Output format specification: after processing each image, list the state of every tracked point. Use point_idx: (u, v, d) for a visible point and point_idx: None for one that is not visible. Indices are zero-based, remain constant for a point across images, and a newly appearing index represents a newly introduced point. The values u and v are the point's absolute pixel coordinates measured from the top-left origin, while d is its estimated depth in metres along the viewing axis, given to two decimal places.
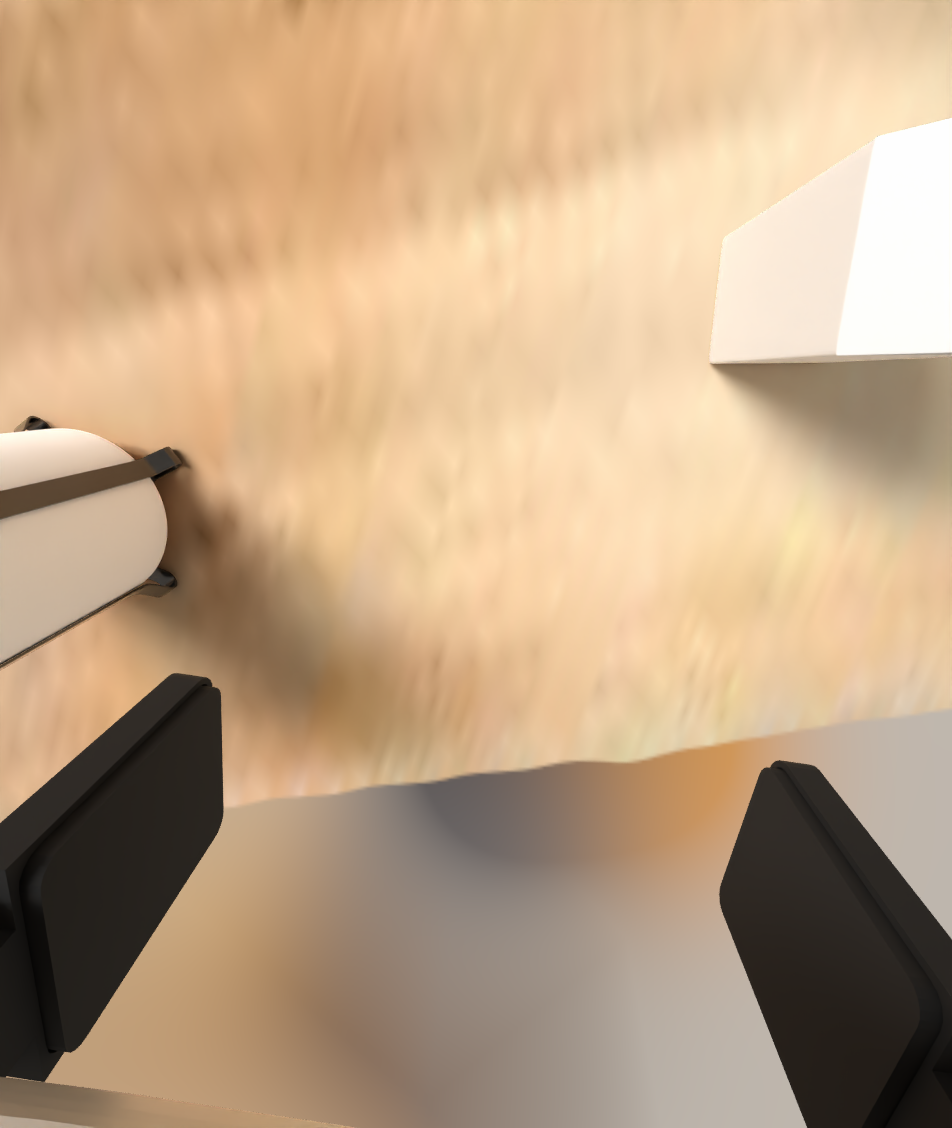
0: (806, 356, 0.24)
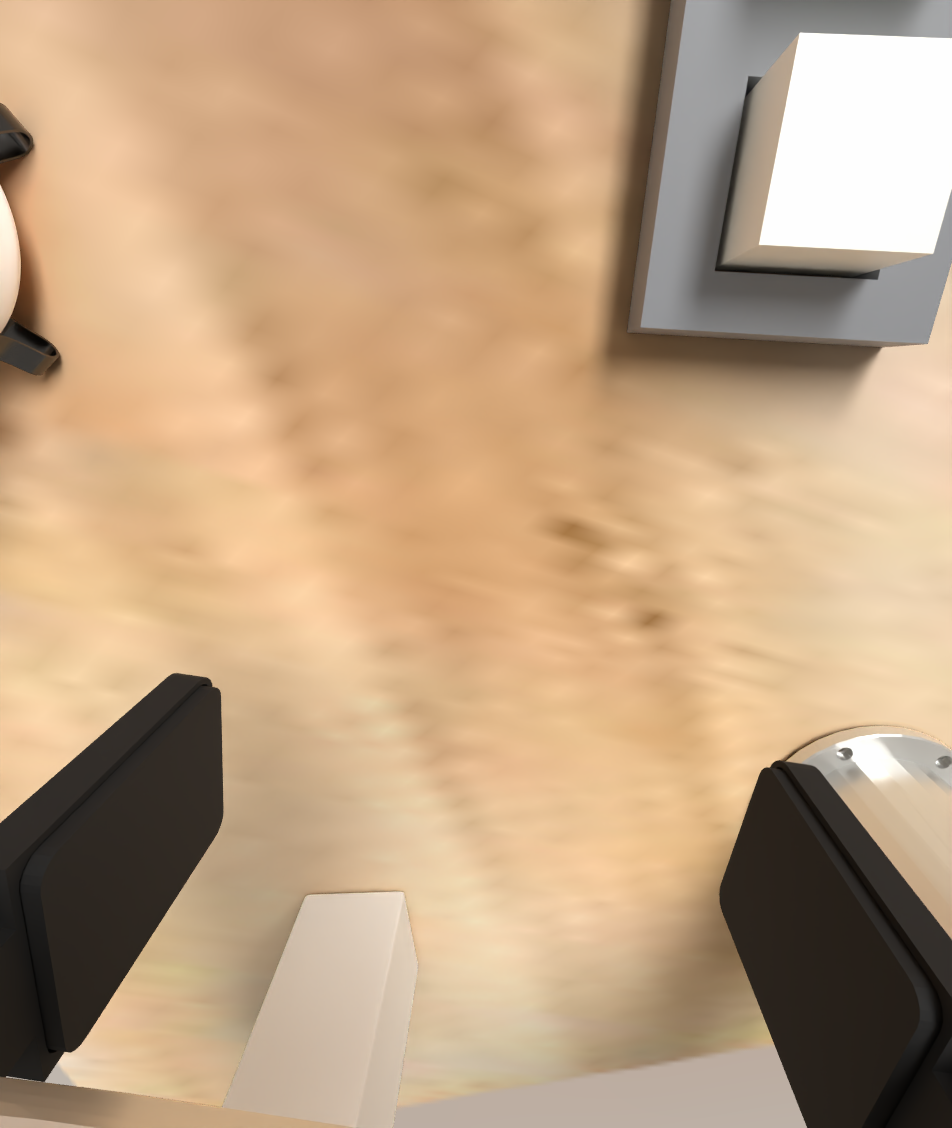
0: None
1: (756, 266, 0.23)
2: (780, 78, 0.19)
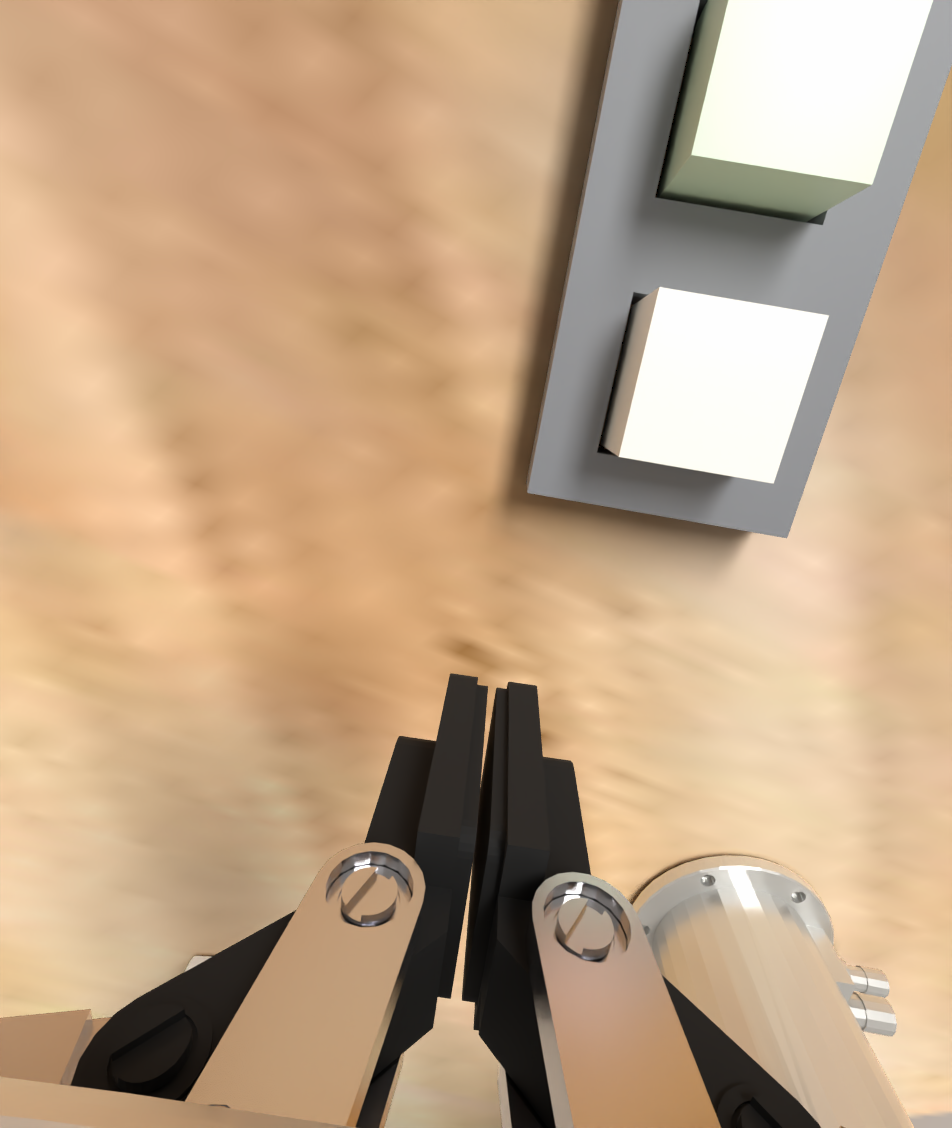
0: None
1: None
2: (647, 314, 0.21)
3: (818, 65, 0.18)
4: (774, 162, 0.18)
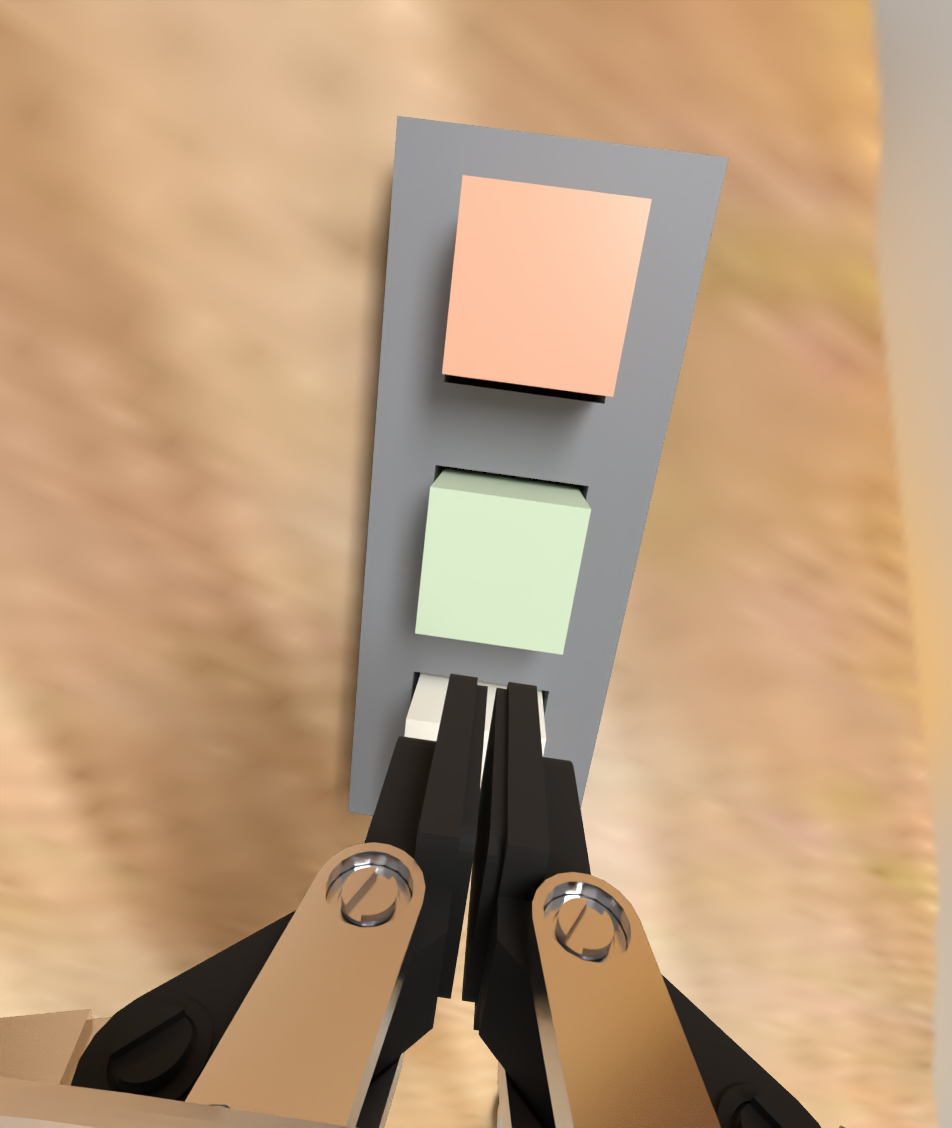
0: None
1: None
2: None
3: (504, 578, 0.22)
4: (482, 639, 0.23)
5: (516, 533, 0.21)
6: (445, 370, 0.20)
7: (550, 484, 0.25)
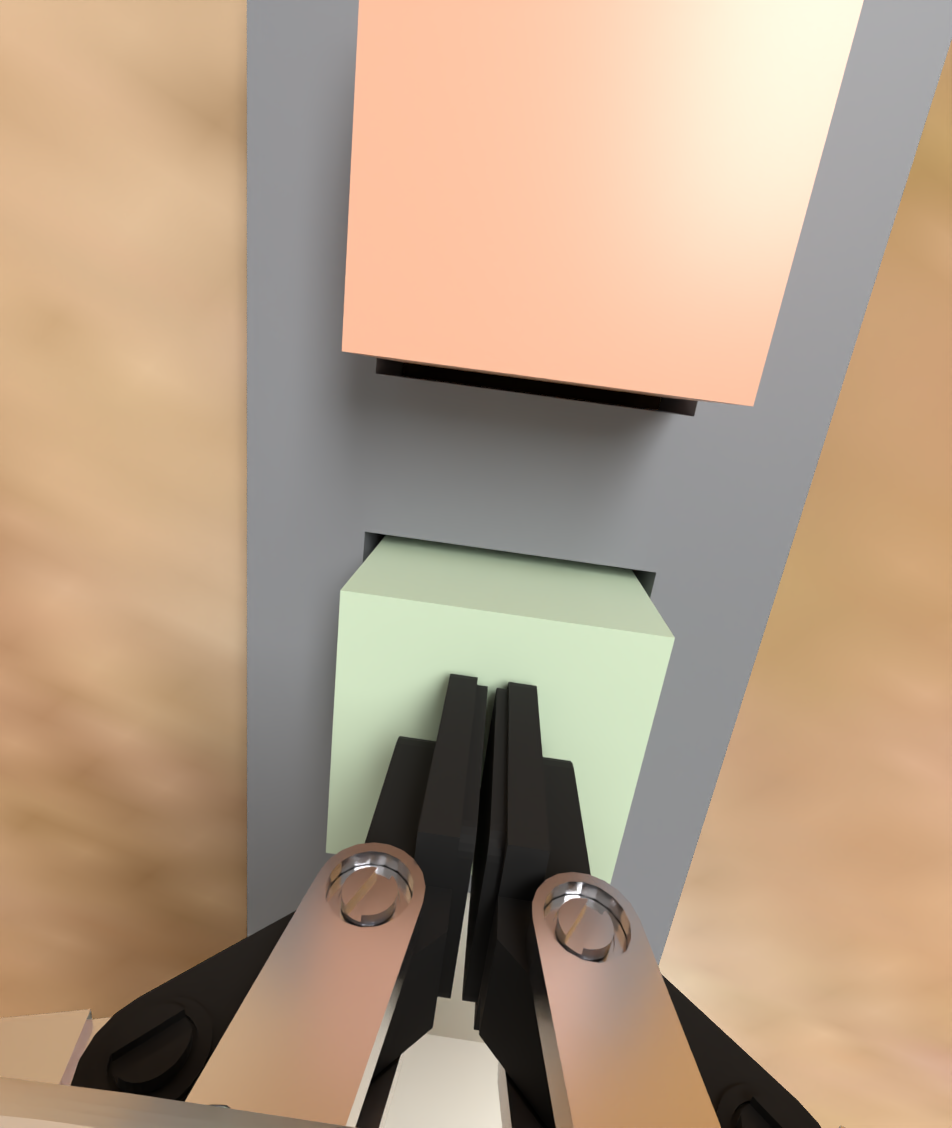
0: None
1: None
2: None
3: None
4: None
5: (519, 682, 0.10)
6: (349, 343, 0.08)
7: None
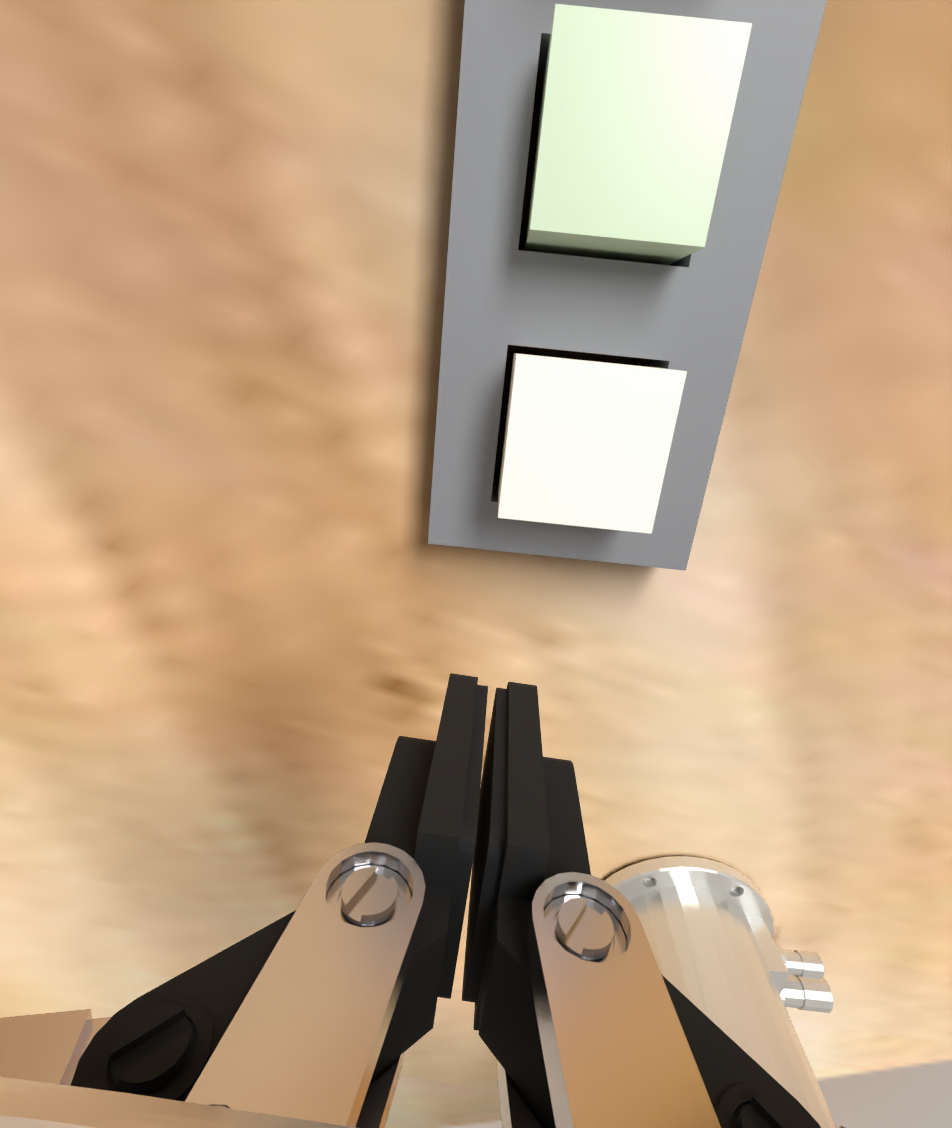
0: None
1: None
2: (513, 376, 0.21)
3: (640, 138, 0.18)
4: (610, 231, 0.19)
5: (658, 68, 0.18)
6: None
7: None
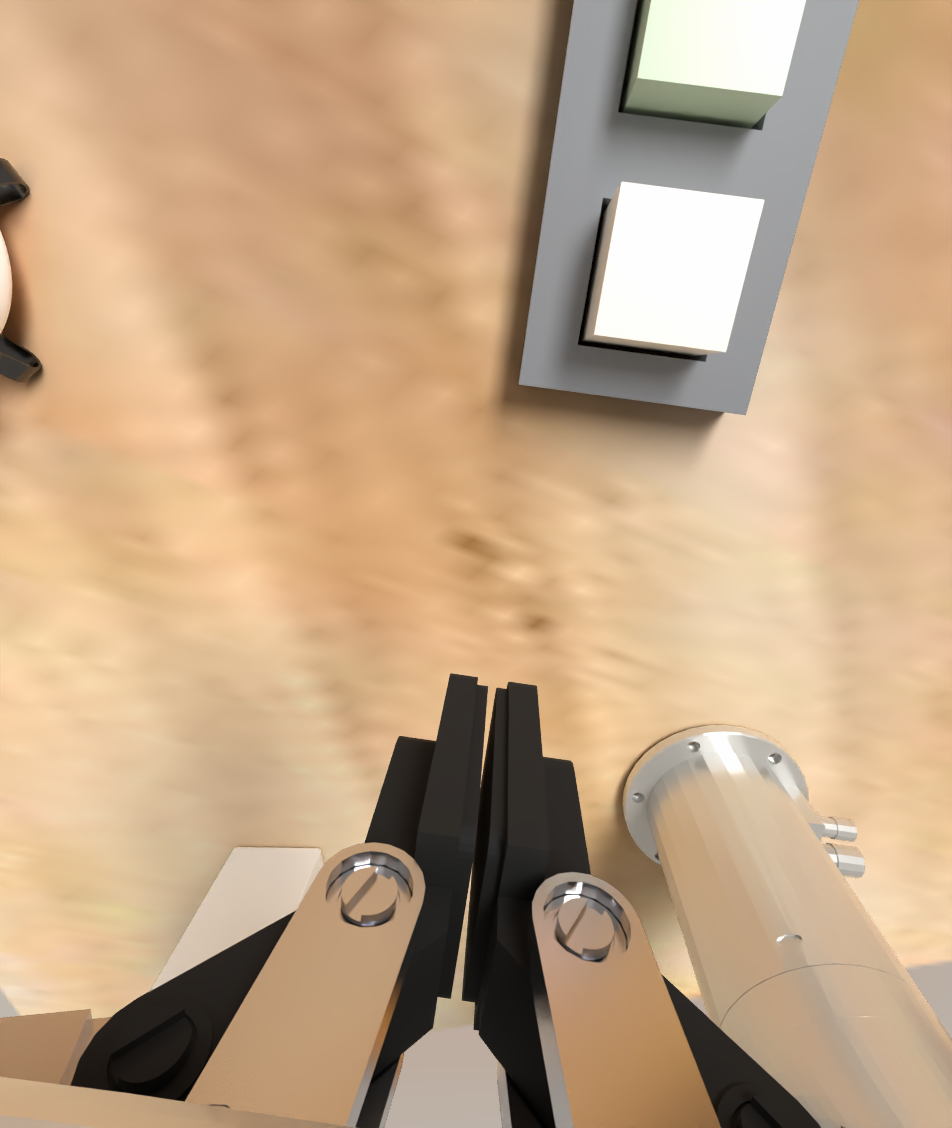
0: None
1: (611, 343, 0.29)
2: (613, 209, 0.25)
3: (733, 0, 0.22)
4: (703, 81, 0.23)
5: None
6: None
7: None
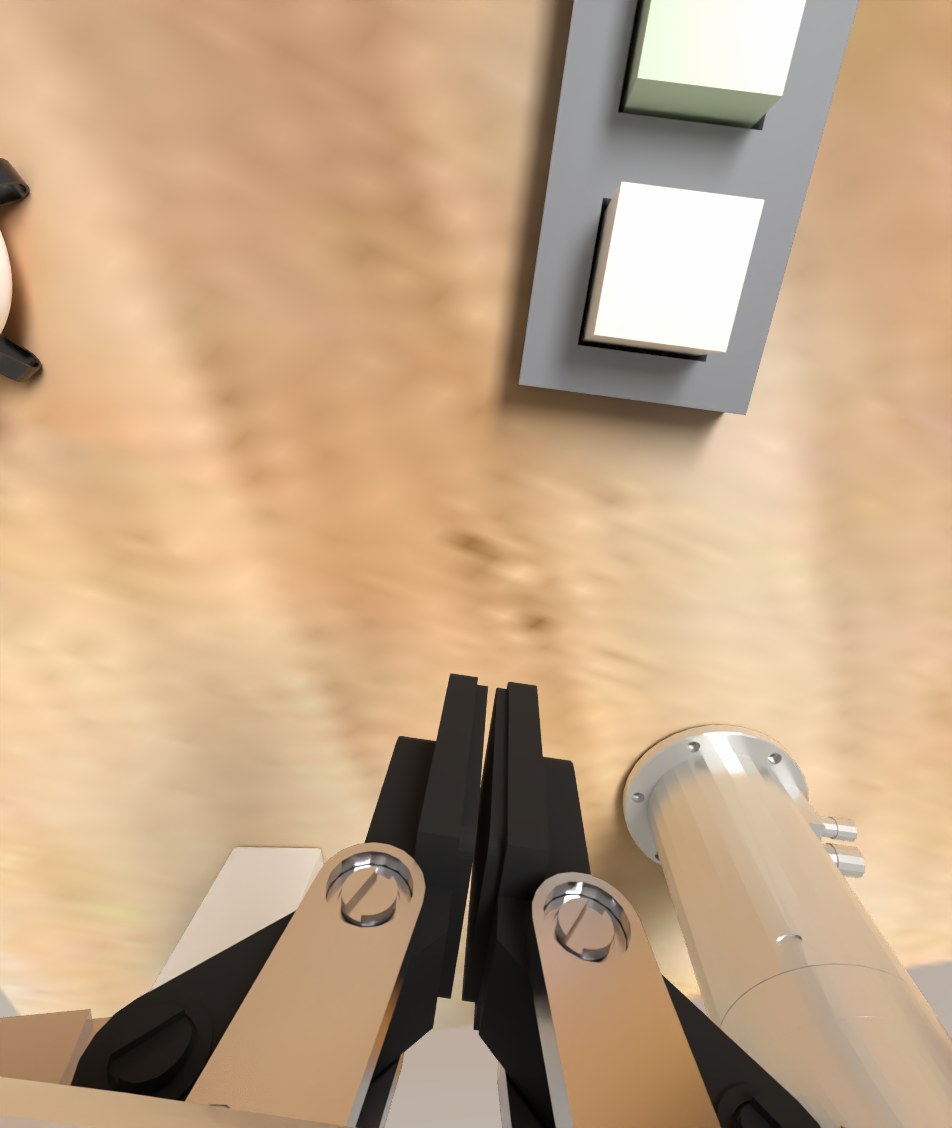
0: None
1: (611, 343, 0.29)
2: (613, 209, 0.25)
3: (733, 0, 0.22)
4: (703, 81, 0.23)
5: None
6: None
7: None
